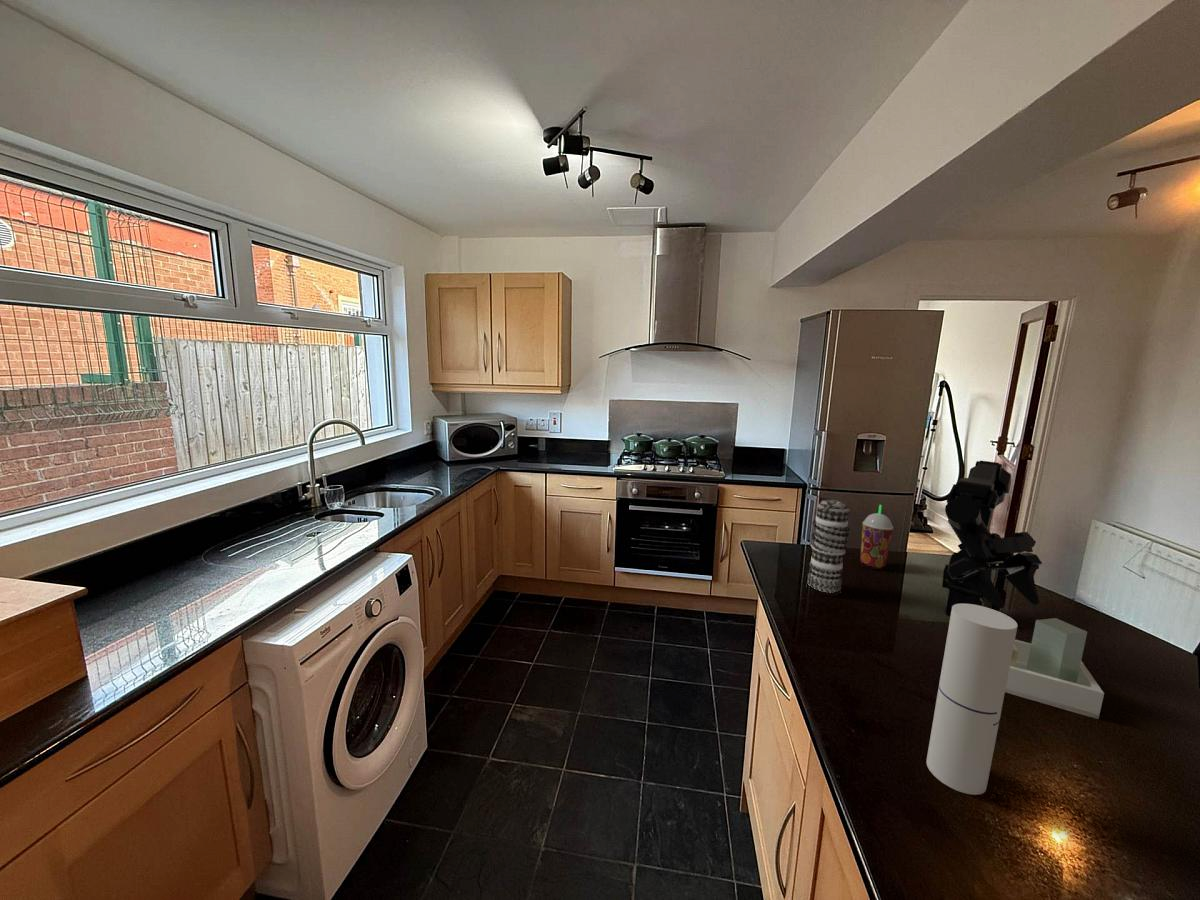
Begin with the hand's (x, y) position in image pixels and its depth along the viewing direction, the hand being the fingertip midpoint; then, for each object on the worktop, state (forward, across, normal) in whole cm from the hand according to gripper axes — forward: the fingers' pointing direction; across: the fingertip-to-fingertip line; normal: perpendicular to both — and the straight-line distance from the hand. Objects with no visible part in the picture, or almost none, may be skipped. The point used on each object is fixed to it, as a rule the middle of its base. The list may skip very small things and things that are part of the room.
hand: (1019, 606), depth 95 cm
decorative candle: (-17, -14, +37) cm, 43 cm away
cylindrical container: (+23, -37, -4) cm, 44 cm away
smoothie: (-26, +14, +45) cm, 54 cm away
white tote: (+12, -1, +7) cm, 14 cm away
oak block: (+9, -3, +10) cm, 13 cm away
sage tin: (+14, 0, +4) cm, 15 cm away
